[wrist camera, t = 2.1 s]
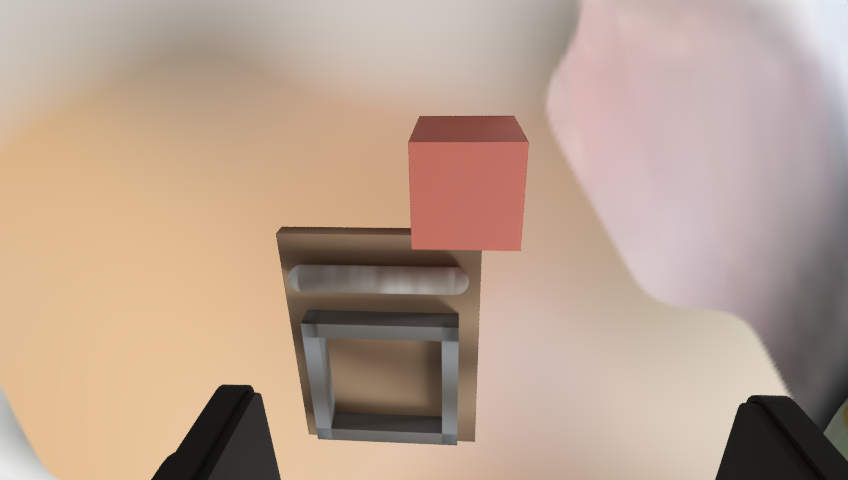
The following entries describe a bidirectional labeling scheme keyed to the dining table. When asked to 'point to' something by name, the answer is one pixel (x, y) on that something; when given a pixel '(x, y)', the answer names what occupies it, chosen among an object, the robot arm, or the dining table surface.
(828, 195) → the dining table surface
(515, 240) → the red block
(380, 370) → the board
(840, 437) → the toy car
